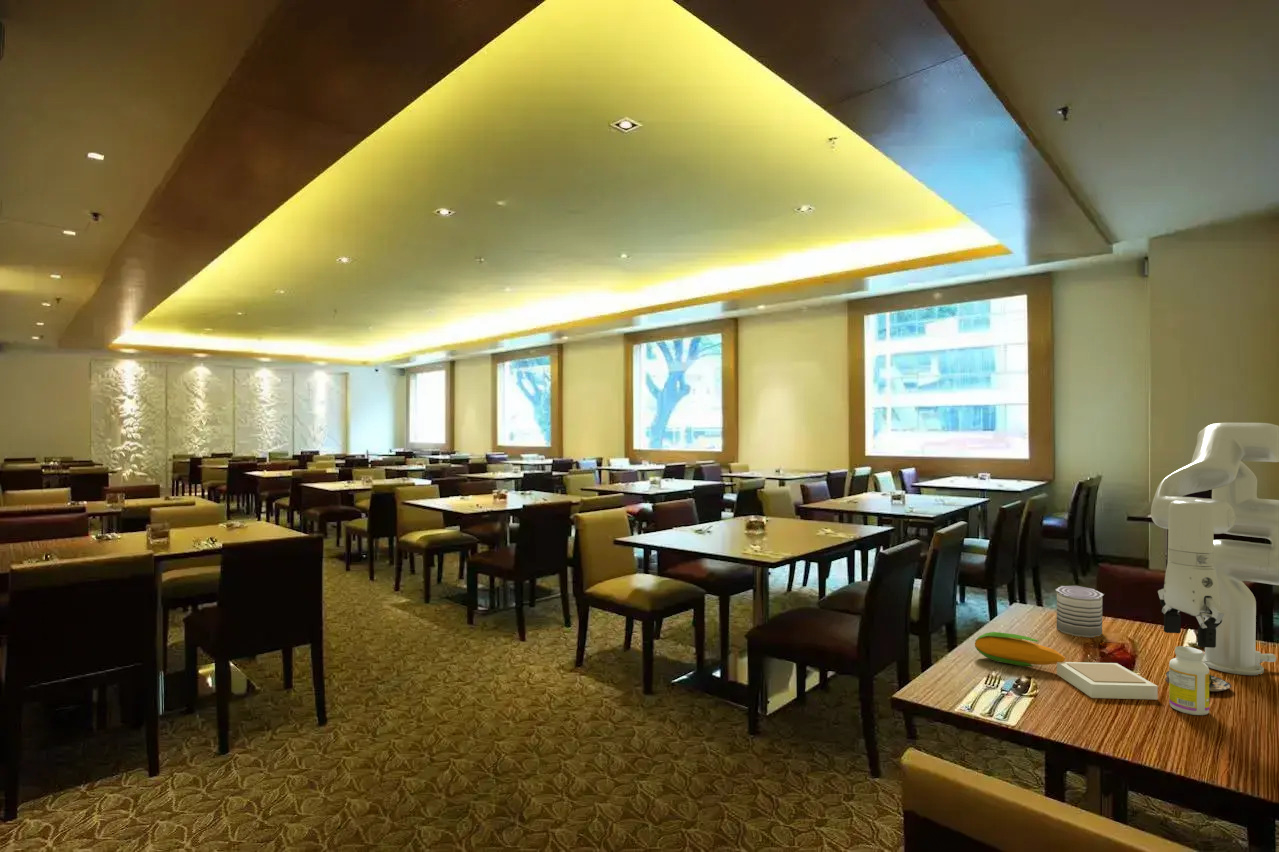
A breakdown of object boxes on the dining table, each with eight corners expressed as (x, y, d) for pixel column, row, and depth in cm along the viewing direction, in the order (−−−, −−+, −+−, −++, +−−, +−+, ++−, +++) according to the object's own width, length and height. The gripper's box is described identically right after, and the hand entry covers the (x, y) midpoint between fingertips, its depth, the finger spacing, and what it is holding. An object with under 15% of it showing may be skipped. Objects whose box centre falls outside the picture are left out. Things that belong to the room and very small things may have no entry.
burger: (1176, 692, 154) (1177, 659, 154) (1157, 674, 165) (1157, 643, 165) (1242, 700, 150) (1242, 666, 150) (1217, 681, 161) (1218, 649, 161)
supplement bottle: (1194, 703, 147) (1195, 645, 147) (1217, 717, 141) (1217, 655, 141) (1161, 702, 148) (1162, 643, 148) (1182, 715, 141) (1183, 654, 141)
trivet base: (1116, 675, 164) (1116, 662, 163) (1157, 699, 150) (1157, 684, 150) (1056, 674, 164) (1056, 660, 164) (1091, 697, 150) (1091, 683, 150)
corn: (977, 623, 179) (1066, 637, 168) (978, 651, 180) (1067, 667, 168) (972, 632, 173) (1064, 646, 162) (972, 661, 174) (1064, 678, 162)
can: (1106, 631, 198) (1106, 590, 198) (1098, 640, 190) (1098, 597, 190) (1061, 623, 206) (1061, 583, 206) (1051, 631, 198) (1052, 590, 197)
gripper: (1242, 567, 135) (1241, 653, 135) (1178, 552, 152) (1177, 628, 152) (1202, 566, 136) (1201, 652, 135) (1143, 551, 153) (1142, 627, 153)
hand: (1188, 639), depth 144 cm, fingers open, 9 cm apart
